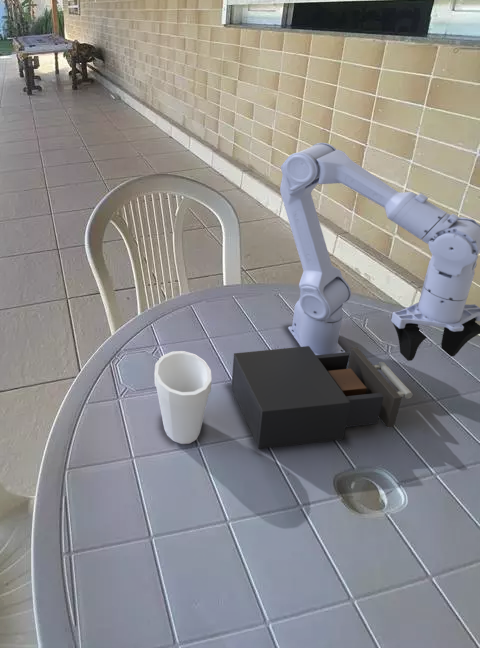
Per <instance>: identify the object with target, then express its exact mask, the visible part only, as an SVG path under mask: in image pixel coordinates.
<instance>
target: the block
mask: <svg viewBox="0 0 480 648" xmlns="http://www.w3.org/2000/svg"><path fill="white" fill-rule="evenodd" d="M328 373H329V374H330V375H331V377H332V378H333V379H334V381H335V382H336V384H337V385H338V386H339V388H340V389H341V390H342V392H343V393H344V395H345V396H354V395H364V394H365V393H366V389H367V388H366V387H365V385H364V384H363V383H362V382H361V380H360V379H359V378H358V377H357V375H356V374H355V373H354V372H353V371H352V369H341V370H331V371H328Z"/></svg>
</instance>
